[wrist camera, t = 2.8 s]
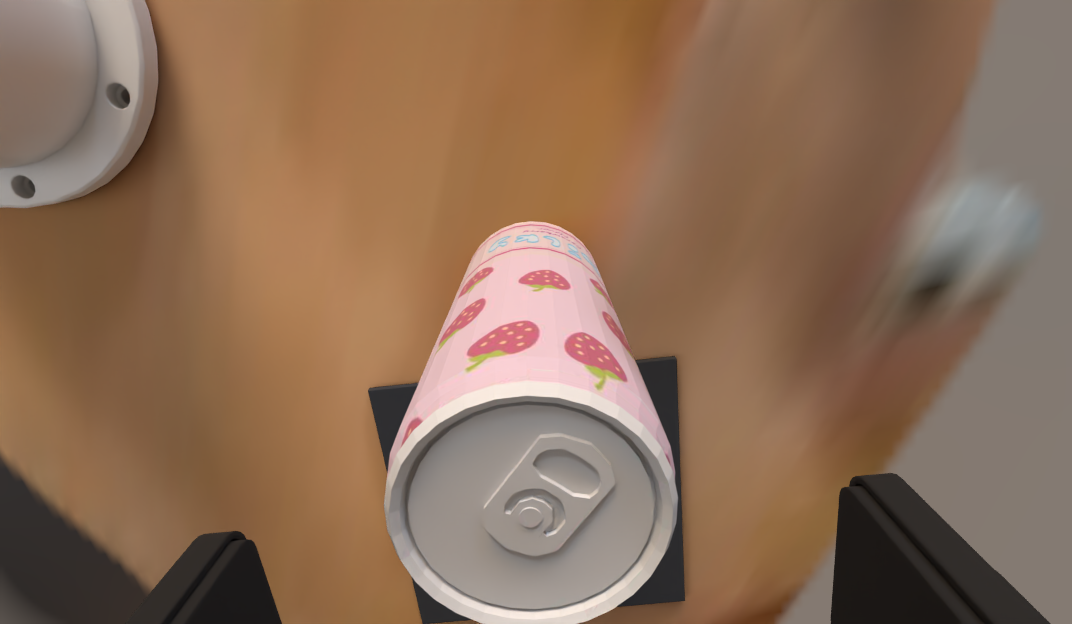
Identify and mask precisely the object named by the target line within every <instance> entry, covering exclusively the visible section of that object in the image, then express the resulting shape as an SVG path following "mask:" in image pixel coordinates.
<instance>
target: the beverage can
mask: <svg viewBox="0 0 1072 624" xmlns="http://www.w3.org/2000/svg"><path fill="white" fill-rule="evenodd" d="M677 504H678V495H677V490H676V485H675V468H674V462H673V457H672V452H671V446H670V444H669V441H668V439H667V437H666V434H665V432H664V429H663V427H662V424H661V422H660V419H659V417H658V415H657V412H656V410H655V407H654V405H653V402H652V400H651V398H650V395H649V393H648V390H647V388H646V385H645V383H644V380H643V378H642V376H641V373H640V371H639V368H638V366H637V363H636V361H635V359H634V356H633V354H632V351H631V349H630V346H629V344H628V341H627V339H626V337H625V334H624V332H623V329H622V327H621V324H620V322H619V320H618V317H617V315H616V312H615V310H614V307H613V305H612V303H611V300H610V298H609V295H608V293H607V290H606V288H605V285H604V283H603V281H602V278H601V276H600V273H599V271H598V268H597V266H596V264H595V262H594V259H593V257H592V255H591V253H590V252H589V251H588V249H587V248H586V247H585V245H584V244H583V243H582V242H581V241H580V240H579V239H578V238H576V237H575V236H574V235H573V234H572V233H570V232H568V231H566V230H564V229H563V228H561V227H559V226H555V225H552V224H548V223H545V222H532V221H530V222H523V223H516V224H513V225H510V226H507V227H505V228H502V229H500V230H499V231H497V232H496V233H494V234H492V235H491V236H490V237H489V238H487V239H486V240H485V241H484V242H483V243H482V244H481V245H480V247H479V248H478V250H477V251H476V253H475V254H474V256H473V257H472V259H471V262H470V264H469V266H468V269H467V271H466V273H465V276H464V278H463V280H462V283H461V285H460V288H459V290H458V292H457V295H456V297H455V299H454V302H453V304H452V306H451V309H450V311H449V313H448V316H447V318H446V320H445V323H444V325H443V327H442V330H441V332H440V334H439V337H438V339H437V341H436V344H435V346H434V348H433V351H432V353H431V356H430V358H429V360H428V363H427V365H426V367H425V370H424V372H423V374H422V377H421V379H420V381H419V384H418V386H417V388H416V391H415V393H414V395H413V398H412V400H411V402H410V405H409V407H408V409H407V412H406V414H405V416H404V419H403V421H402V424H401V426H400V428H399V431H398V433H397V436H396V439H395V441H394V444H393V447H392V449H391V452H390V457H389V466H388V474H387V483H386V492H385V500H384V509H385V516H386V523H387V530H388V533H389V535H390V538H391V540H392V543H393V545H394V548H395V550H396V553H397V555H398V557H399V558H400V560H401V562H402V563H403V565H404V566H405V567H406V569H407V570H408V572H409V573H410V575H411V576H412V577H413V579H414V580H415V582H416V583H417V584H418V585H420V586H421V587H422V588H423V589H424V590H425V591H426V592H427V593H428V594H429V595H430V596H431V597H432V598H433V599H435V600H436V601H438V602H439V603H441V604H443V605H444V606H446V607H447V608H449V609H451V610H452V611H454V612H455V613H457V614H460V615H462V616H465V617H467V618H470V619H472V620H475V621H477V622H480V623H483V624H578V623H581V622H585V621H588V620H591V619H593V618H595V617H597V616H599V615H601V614H604V613H606V612H608V611H610V610H612V609H614V608H615V607H617V606H618V605H619V604H621V603H622V602H624V601H625V600H626V599H628V598H629V597H631V596H632V595H634V594H635V592H636V591H637V590H638V589H639V588H640V587H641V586H642V585H643V584H644V583H645V582H646V581H647V580H648V579H649V578H650V577H651V575H652V574H653V572H654V571H655V569H656V567H657V566H658V564H659V562H660V561H661V559H662V557H663V556H664V554H665V552H666V551H667V549H668V547H669V544H670V541H671V538H672V535H673V531H674V528H675V525H676V519H677Z"/></svg>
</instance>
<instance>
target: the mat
mask: <svg viewBox="0 0 1072 624" xmlns="http://www.w3.org/2000/svg"><path fill="white" fill-rule="evenodd" d="M635 361H636V363H637V366H638V368H639V371H640V373H641V376H642V378H643V380H644V383H645V385H646V388H647V390H648V393H649V395H650V398H651V400H652V402H653V405H654V407H655V410H656V412H657V415H658V417H659V419H660V422H661V424H662V427H663V429H664V432H665V434H666V437H667V439H668V441H669V444H670V446H671V452H672V457H673V462H674V468H675V485H676V490H677V495H678V504H677V519H676V525H675V528H674V531H673V535H672V538H671V541H670V544H669V547H668V549H667V551H666V552H665V554H664V556H663V557H662V559H661V561H660V562H659V564H658V566H657V567H656V569H655V571H654V572H653V574H652V575H651V577H650V578H649V579H648V580H647V581H646V582H645V583H644V584H643V585H642V586H641V587H640V588H639V589H638V590H637V591H636V592H635V594H634V595H632V596H631V597H629V598H628V599H626V600H625V601H624V602H622V603H621V604H619V605H618V606H617V607H621V606H632V605H644V604H655V603H666V602H677V601H685V592H684V563H683V535H682V506H681V477H680V448H679V419H678V390H677V361H676V357H675V356H672V357H662V358H653V359H643V360H635ZM418 384H419V383H413V384H404V385H394V386H384V387H375V388H370V389H369V390H368V392H369V396H370V401H371V405H372V409H373V414H374V418H375V422H376V426H377V431H378V435H379V439H380V443H381V448H382V452H383V456H384V461H385V465H386V469H387V473H388V466H389V457H390V452H391V449H392V447H393V444H394V441H395V439H396V436H397V433H398V431H399V428H400V426H401V424H402V421H403V419H404V416H405V414H406V412H407V409H408V407H409V405H410V402H411V400H412V398H413V395H414V393H415V391H416V388H417V386H418ZM412 580H413V584H414V589H415V593H416V597H417V601H418V606H419V610H420V614H421V619H422V623H423V624H431V623H443V622H454V621H465V620H472V619H470V618H467V617H465V616H462V615H460V614H457V613H455V612H454V611H452V610H451V609H449V608H447V607H446V606H444V605H443V604H441V603H439V602H438V601H436V600H435V599H433V598H432V597H431V596H430V595H429V594H428V593H427V592H426V591H425V590H424V589H423V588H422V587H421V586H420V585H418V584H417V583H416V582H415V580H414V579H413V577H412Z"/></svg>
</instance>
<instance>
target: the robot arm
mask: <svg viewBox="0 0 1072 624" xmlns="http://www.w3.org/2000/svg"><path fill="white" fill-rule="evenodd" d="M157 89H158V58H157V45H156V41H155V36H154V31H153V27H152V22H151V17H150V13H149V10H148V7H147V5H146V2H145V0H0V207H7V208H30V207H37V206H44V205H50V204H57V203H61V202H64V201H68V200H72V199H75V198H79V197H82V196H85V195H87V194H89V193H90V192H92V191H94V190H96V189H98V188H99V187H101V186H103V185H105V184H107V183H108V182H109V181H111V180H112V179H113V178H114V177H115V176H116V175H117V174H118V173H119V172H120V171H121V170H122V169H124V168H125V167H126V166H127V165H128V164H129V162H130V161H131V159H132V158H133V156H134V155H135V153H136V152H137V150H138V149H139V147H140V146H141V144H142V143H143V141H144V138H145V136H146V133H147V130H148V128H149V125H150V122H151V120H152V117H153V114H154V109H155V102H156V95H157ZM129 94H130V99H129ZM831 609H832V610H831V624H1050V623H1049V622H1048V621H1047V620H1046V619H1045V618H1044V617H1043V616H1042V615H1041V614H1040V613H1039V612H1038V611H1037V610H1036V609H1035V608H1034V607H1033V606H1032V605H1031V604H1030V603H1029V602H1028V601H1027V600H1026V599H1025V598H1024V597H1023V596H1022V595H1021V594H1020V593H1019V592H1018V591H1017V590H1016V589H1015V588H1014V587H1013V586H1012V585H1011V584H1010V583H1009V582H1008V581H1007V580H1006V579H1005V578H1004V577H1002V576H1001V574H999V573H998V572H997V571H996V570H994V569H993V568H992V567H991V566H990V565H989V564H988V563H987V562H986V561H985V560H984V559H983V558H982V557H981V556H980V555H979V554H978V553H977V552H976V551H975V550H974V549H973V548H972V547H970V545H969V544H968V543H967V542H966V541H965V540H964V539H963V538H962V537H961V536H960V535H959V534H958V533H957V532H955V530H953V528H951V527H950V526H949V525H948V524H947V523H946V522H945V521H944V520H943V519H942V518H941V517H940V516H939V515H938V514H937V513H936V512H935V511H934V510H933V509H932V508H931V507H930V506H929V505H928V504H927V503H926V502H925V501H924V500H923V499H922V498H921V497H920V496H919V495H918V494H917V493H916V492H915V491H914V490H913V489H912V488H911V487H910V486H909V485H908V484H907V483H906V482H905V481H904V480H903V479H902V478H901V477H899V476H898V475H897V474H893V473H887V474H876V475H864V476H856V477H853V478H852V480H851V481H850V485H849V487H844V488H842V489H841V491H840V495H839V509H838V523H837V537H836V551H835V566H834V580H833V594H832V608H831ZM125 624H282V623H281V620H280V617H279V614H278V611H277V608H276V605H275V602H274V599H273V596H272V593H271V590H270V587H269V584H268V581H267V578H266V575H265V572H264V569H263V566H262V563H261V560H260V557H259V554H258V551H257V548H256V546H255V544H254V542H253V541H252V540H246V538H245V536H244V534H242V533H241V532H238V531H232V532H221V533H209V534H203V535H200V536H198V537H197V538H196V539H195V540H194V541H193V542H192V543H191V545H190V546H189V547H188V548H187V549H186V551H185V552H184V553H183V554H182V555H181V557H180V558H179V559H178V560H177V561H176V563H175V564H174V565H173V566H172V567H171V569H170V570H169V571H168V572H167V573H166V575H165V576H164V577H163V578H162V579H161V581H160V582H159V583H158V584H157V585H156V587H155V588H154V589H153V590H152V591H151V593H150V594H149V595H148V596H147V597H146V599H145V600H144V601H143V602H142V603H141V605H140V606H139V607H138V608H137V609H136V611H135V612H134V613H133V614H132V615H131V617H130V618H129V619H128V620H127V621H126V623H125Z"/></svg>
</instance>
